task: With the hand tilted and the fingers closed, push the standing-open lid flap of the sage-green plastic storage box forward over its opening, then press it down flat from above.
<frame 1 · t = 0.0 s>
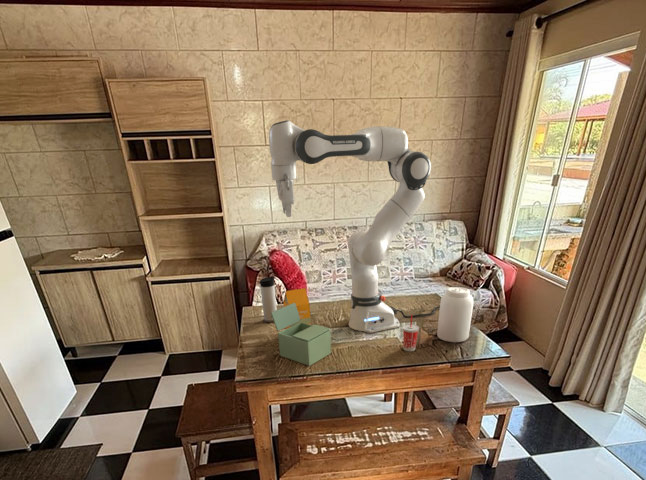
hand: (287, 215, 153), 48 cm above the table, tool pointing down, fingers open, 8 cm apart
flap: (286, 316, 156), point 14 cm above the table, hinge at 110.0°
beverage cup: (409, 349, 158), on the table
orange juice: (298, 335, 174), on the table
storage box: (305, 354, 157), on the table
travel mug: (271, 320, 190), on the table
white upright cylinder: (452, 337, 167), on the table
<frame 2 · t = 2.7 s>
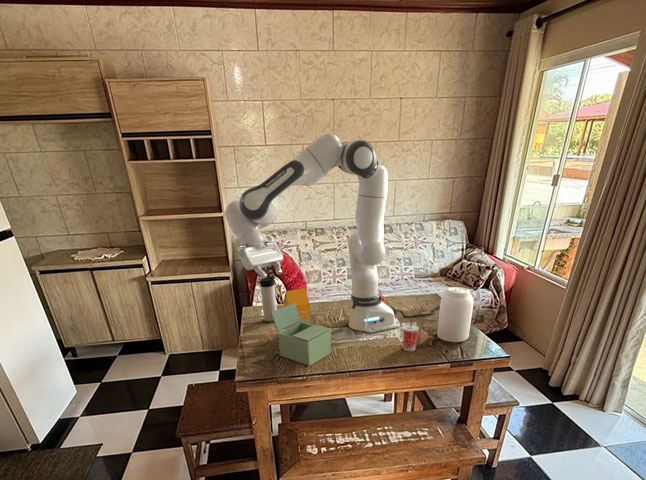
hand: (272, 275, 153), 28 cm above the table, tool tilted 40°, fingers open, 8 cm apart
nothing on the table moved.
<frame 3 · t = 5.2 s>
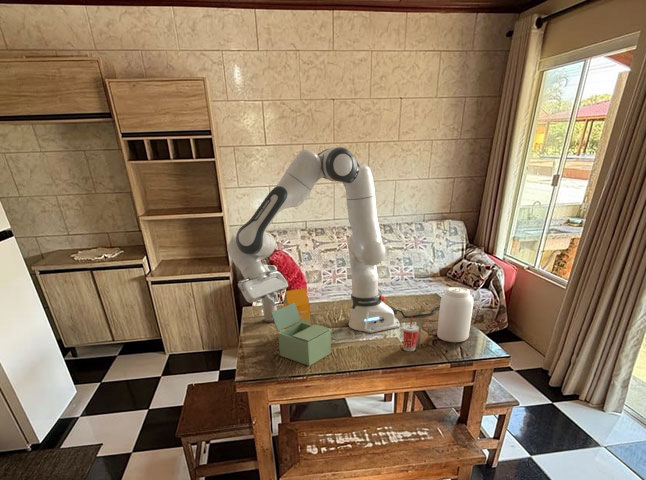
hand: (276, 304, 156), 18 cm above the table, tool tilted 45°, fingers closed
nothing on the table moved.
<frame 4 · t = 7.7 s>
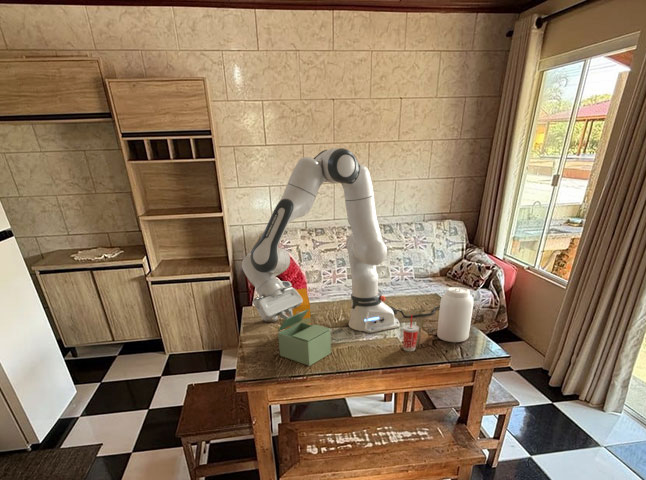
hand: (291, 321, 155), 12 cm above the table, tool tilted 45°, fingers closed
flap: (293, 320, 154), point 13 cm above the table, hinge at 50.3°, touching gripper
orange juice: (298, 335, 174), on the table, touching arm
everything else where it was.
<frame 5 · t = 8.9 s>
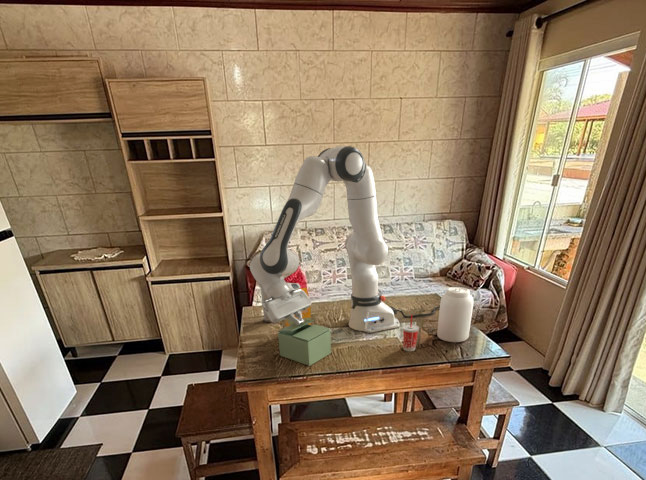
hand: (300, 323, 152), 12 cm above the table, tool tilted 45°, fingers closed
flap: (296, 325, 154), point 11 cm above the table, hinge at 14.1°, touching gripper
orange juice: (298, 335, 174), on the table
everything else where it was.
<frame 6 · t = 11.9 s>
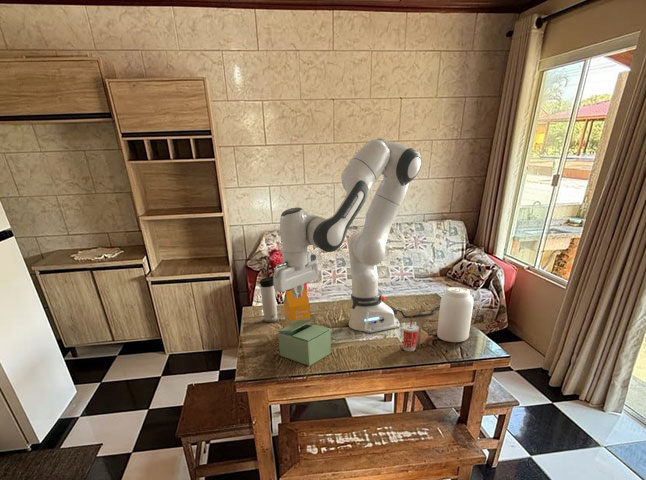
hand: (297, 297, 147), 23 cm above the table, tool pointing down, fingers closed
flap: (296, 325, 154), point 11 cm above the table, hinge at 14.1°
everything else where it was.
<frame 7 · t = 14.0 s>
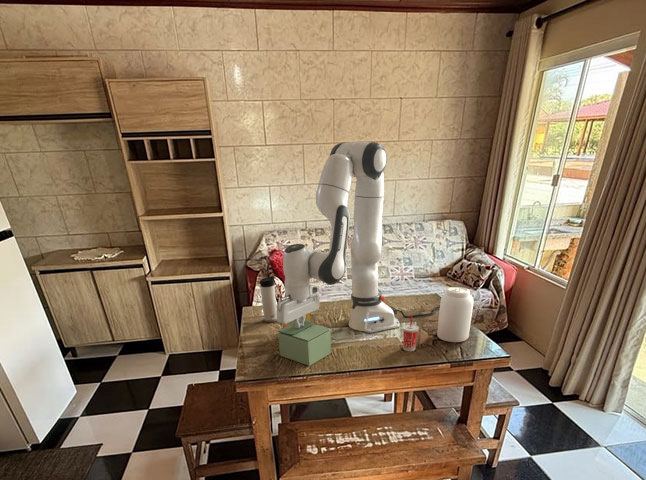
hand: (299, 327, 153), 11 cm above the table, tool pointing down, fingers closed, pressing on flap
flap: (296, 327, 154), point 10 cm above the table, hinge at 4.2°, touching gripper
everything else where it was.
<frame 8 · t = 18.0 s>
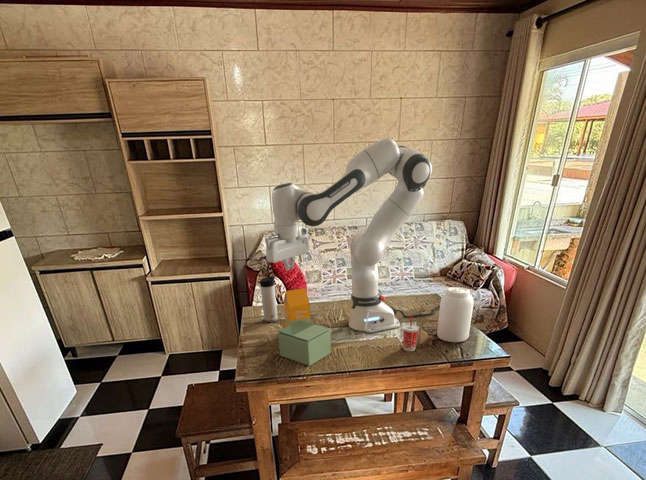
hand: (289, 269, 157), 29 cm above the table, tool pointing down, fingers closed
flap: (296, 328, 155), point 10 cm above the table, hinge at 0.0°
everything else where it was.
at the end: flap at +0° (first picture: +110°); orange juice moved 0.2 cm from its start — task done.
